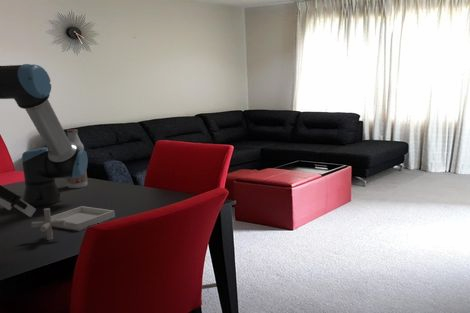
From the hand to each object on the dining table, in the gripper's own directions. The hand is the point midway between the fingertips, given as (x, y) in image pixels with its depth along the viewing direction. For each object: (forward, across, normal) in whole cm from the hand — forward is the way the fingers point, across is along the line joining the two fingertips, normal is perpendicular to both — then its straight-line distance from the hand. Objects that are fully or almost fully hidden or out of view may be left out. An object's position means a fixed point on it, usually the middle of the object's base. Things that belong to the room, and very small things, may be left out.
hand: (22, 209), depth 136 cm
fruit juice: (+48, -64, +32) cm, 86 cm away
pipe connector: (+14, 0, -3) cm, 14 cm away
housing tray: (+26, -10, +9) cm, 29 cm away
